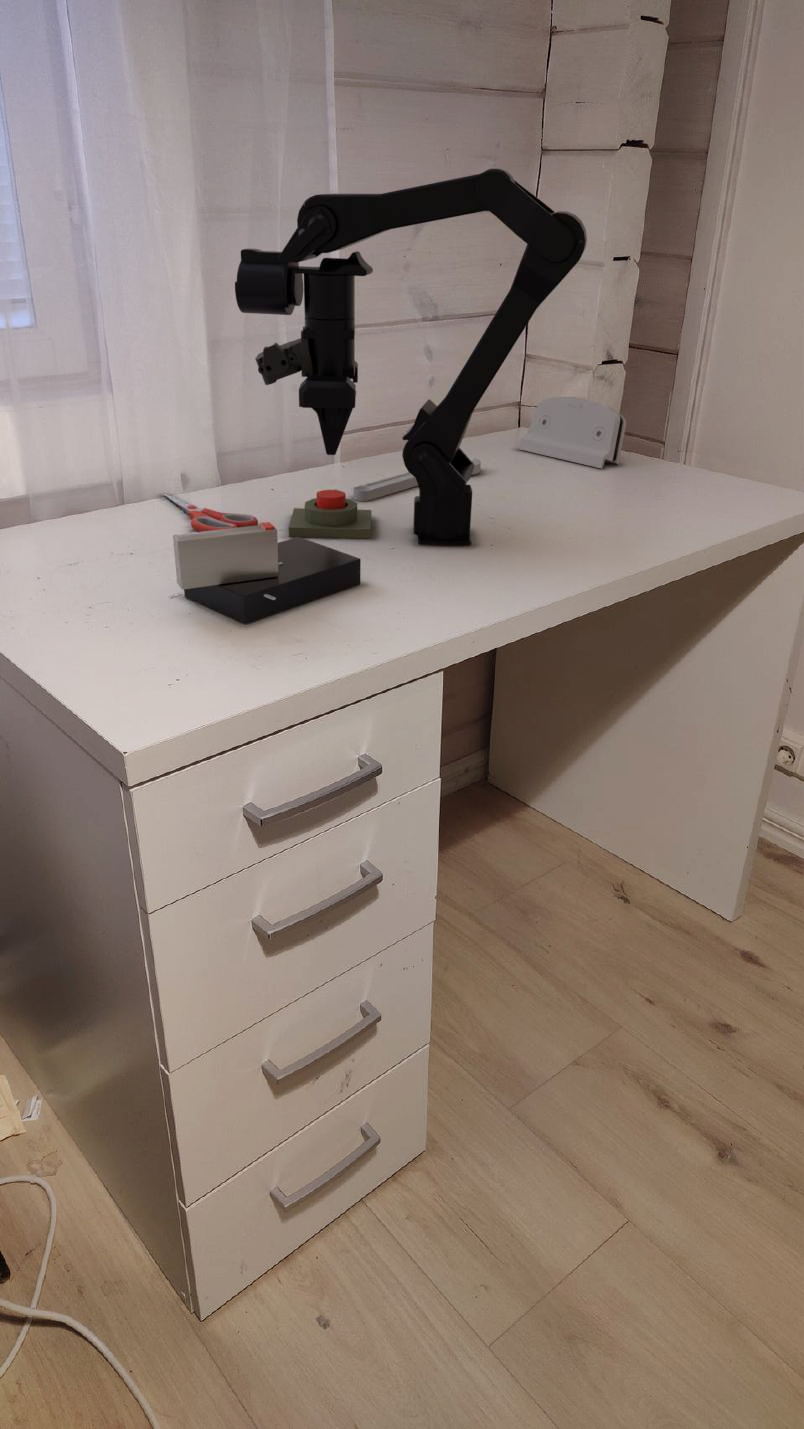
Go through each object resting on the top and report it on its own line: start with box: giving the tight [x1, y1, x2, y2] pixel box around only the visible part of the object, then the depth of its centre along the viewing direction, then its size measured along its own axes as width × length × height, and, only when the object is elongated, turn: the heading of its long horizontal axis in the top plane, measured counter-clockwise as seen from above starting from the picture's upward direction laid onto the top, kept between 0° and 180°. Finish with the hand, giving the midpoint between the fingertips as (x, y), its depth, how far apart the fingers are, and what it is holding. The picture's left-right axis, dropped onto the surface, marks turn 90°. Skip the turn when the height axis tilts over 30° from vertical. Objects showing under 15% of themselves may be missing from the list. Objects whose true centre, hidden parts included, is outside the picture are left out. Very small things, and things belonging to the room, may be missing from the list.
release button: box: [316, 489, 347, 509], centre depth 125 cm, size 4×4×2 cm
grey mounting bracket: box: [518, 396, 627, 469], centre depth 161 cm, size 17×5×10 cm, turn 47°
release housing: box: [288, 497, 373, 539], centre depth 126 cm, size 10×8×3 cm
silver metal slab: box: [172, 521, 279, 591], centre depth 100 cm, size 10×2×5 cm, turn 115°
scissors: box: [162, 492, 259, 532], centre depth 129 cm, size 8×21×2 cm, turn 48°
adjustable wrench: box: [352, 458, 482, 502], centre depth 146 cm, size 25×6×2 cm, turn 133°
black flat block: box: [168, 537, 362, 625], centre depth 105 cm, size 14×22×3 cm, turn 137°
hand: (331, 454), depth 122 cm, fingers closed
